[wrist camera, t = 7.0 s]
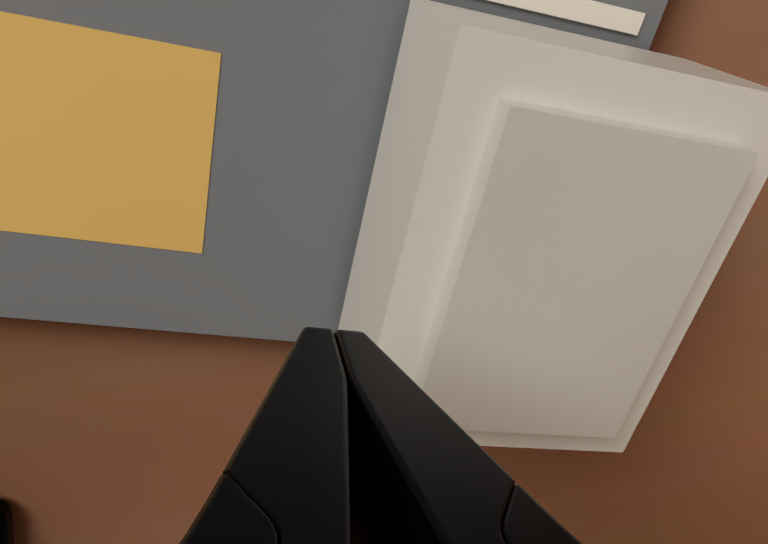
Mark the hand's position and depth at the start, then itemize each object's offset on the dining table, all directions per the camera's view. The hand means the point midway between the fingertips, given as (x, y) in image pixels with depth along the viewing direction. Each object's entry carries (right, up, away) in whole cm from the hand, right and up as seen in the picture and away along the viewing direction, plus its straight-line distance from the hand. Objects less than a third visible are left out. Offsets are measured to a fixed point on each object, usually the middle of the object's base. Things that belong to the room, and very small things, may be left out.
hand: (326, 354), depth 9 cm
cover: (+4, +3, +8) cm, 9 cm away
